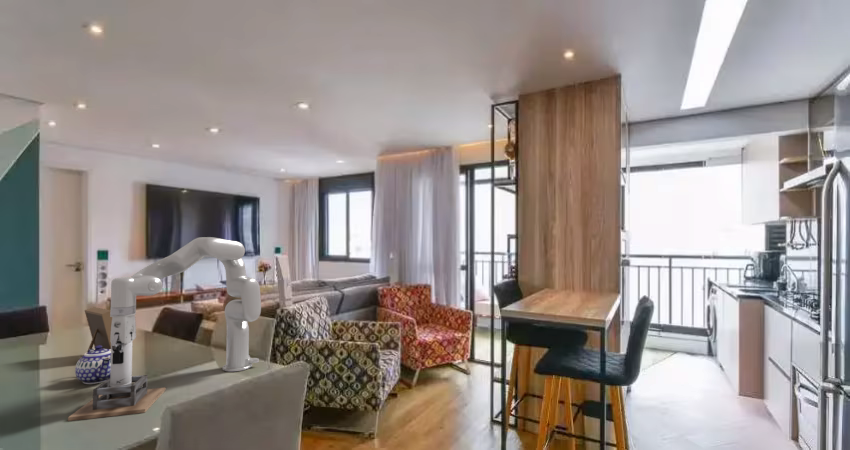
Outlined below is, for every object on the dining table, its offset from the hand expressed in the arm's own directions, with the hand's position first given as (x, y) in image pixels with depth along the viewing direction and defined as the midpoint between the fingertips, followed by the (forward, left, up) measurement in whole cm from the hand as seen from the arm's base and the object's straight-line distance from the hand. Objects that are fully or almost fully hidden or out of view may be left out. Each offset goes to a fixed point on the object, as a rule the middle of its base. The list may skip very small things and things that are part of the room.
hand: (122, 360), depth 149 cm
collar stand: (0, 0, -16) cm, 16 cm away
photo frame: (+37, -73, -16) cm, 83 cm away
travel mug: (0, 0, -10) cm, 10 cm away
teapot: (+21, -34, -16) cm, 43 cm away
